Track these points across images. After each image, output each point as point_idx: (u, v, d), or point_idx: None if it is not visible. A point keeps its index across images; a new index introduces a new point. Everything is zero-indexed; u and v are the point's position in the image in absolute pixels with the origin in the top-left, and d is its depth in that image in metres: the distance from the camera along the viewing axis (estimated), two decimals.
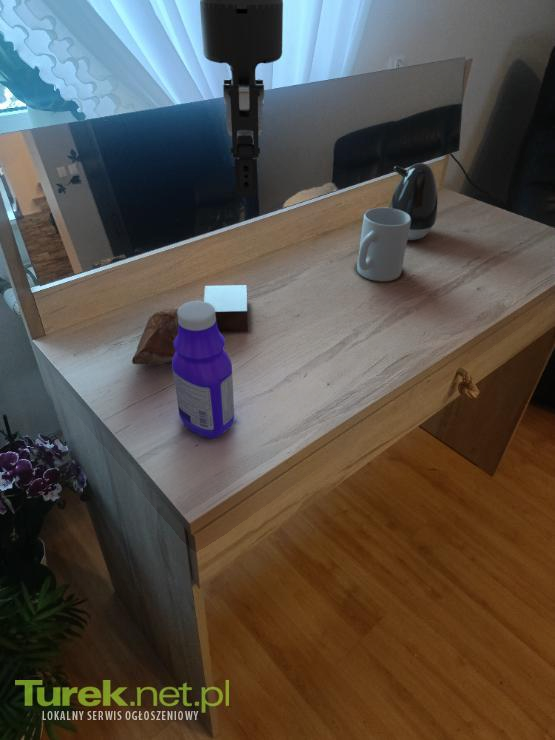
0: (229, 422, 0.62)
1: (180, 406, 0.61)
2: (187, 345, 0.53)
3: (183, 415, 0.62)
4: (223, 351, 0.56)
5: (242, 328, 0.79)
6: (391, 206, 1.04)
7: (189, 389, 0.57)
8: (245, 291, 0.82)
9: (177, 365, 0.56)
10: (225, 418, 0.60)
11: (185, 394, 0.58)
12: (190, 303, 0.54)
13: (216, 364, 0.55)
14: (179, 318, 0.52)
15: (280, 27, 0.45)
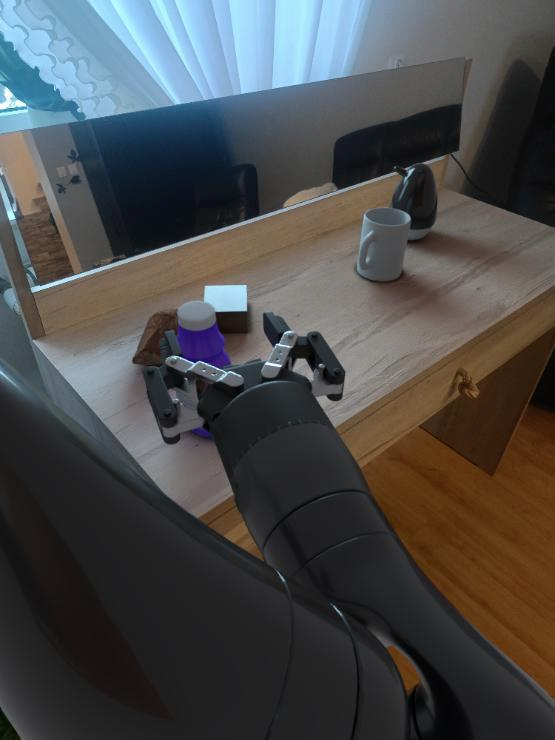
0: None
1: None
2: (187, 345, 0.53)
3: None
4: (223, 351, 0.56)
5: (242, 328, 0.79)
6: (391, 206, 1.04)
7: None
8: (245, 291, 0.82)
9: None
10: None
11: None
12: (190, 303, 0.54)
13: (216, 364, 0.55)
14: (179, 318, 0.52)
15: None
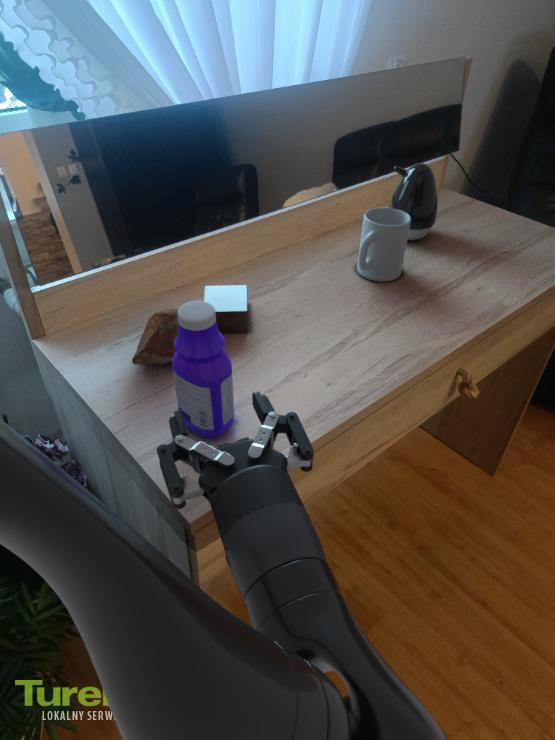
0: (229, 422, 0.62)
1: (180, 406, 0.61)
2: (187, 345, 0.53)
3: (183, 415, 0.62)
4: (223, 351, 0.56)
5: (242, 328, 0.79)
6: (391, 206, 1.04)
7: (189, 389, 0.57)
8: (245, 291, 0.82)
9: (177, 365, 0.56)
10: (225, 418, 0.60)
11: (185, 394, 0.58)
12: (190, 303, 0.54)
13: (216, 364, 0.55)
14: (179, 318, 0.52)
15: None
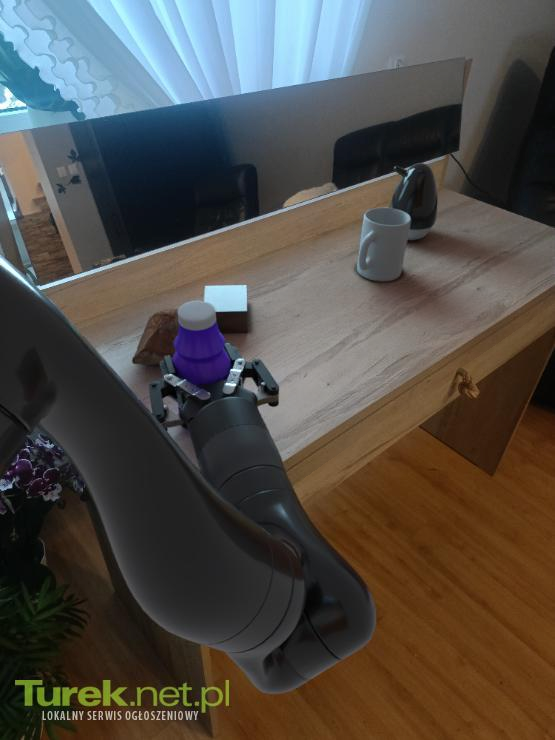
0: None
1: None
2: (187, 345, 0.53)
3: None
4: (223, 351, 0.56)
5: (242, 328, 0.79)
6: (391, 206, 1.04)
7: None
8: (245, 291, 0.82)
9: (177, 365, 0.56)
10: None
11: None
12: (190, 303, 0.54)
13: (216, 363, 0.55)
14: (179, 318, 0.52)
15: None
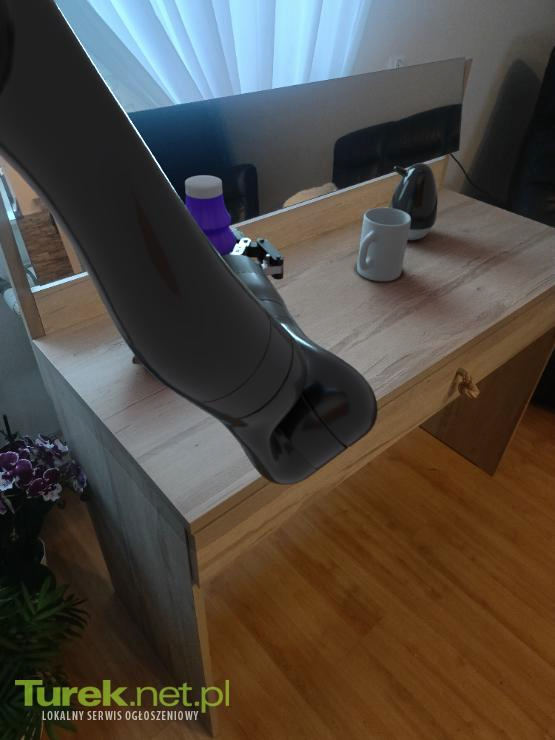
0: None
1: None
2: (194, 216, 0.55)
3: None
4: (229, 229, 0.58)
5: None
6: (391, 206, 1.04)
7: None
8: None
9: None
10: None
11: None
12: (197, 176, 0.55)
13: (222, 238, 0.56)
14: (187, 187, 0.54)
15: None
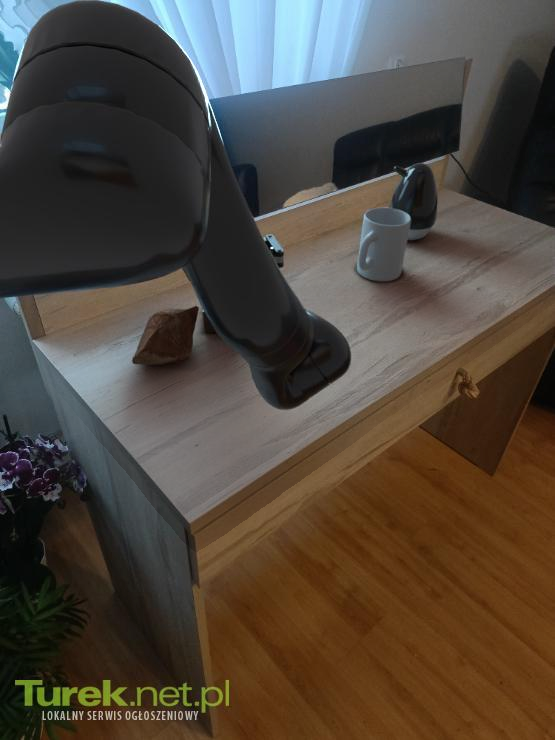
0: None
1: None
2: None
3: None
4: None
5: None
6: (391, 206, 1.04)
7: None
8: None
9: None
10: None
11: None
12: None
13: None
14: None
15: None
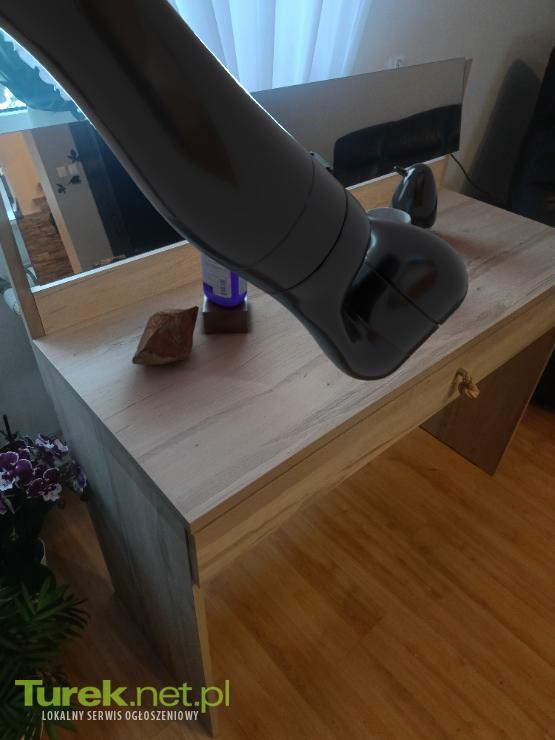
0: (243, 294, 0.77)
1: (204, 280, 0.77)
2: None
3: (206, 288, 0.77)
4: None
5: (242, 328, 0.79)
6: (391, 206, 1.04)
7: (213, 260, 0.73)
8: None
9: None
10: (240, 289, 0.76)
11: (209, 266, 0.74)
12: None
13: None
14: None
15: None
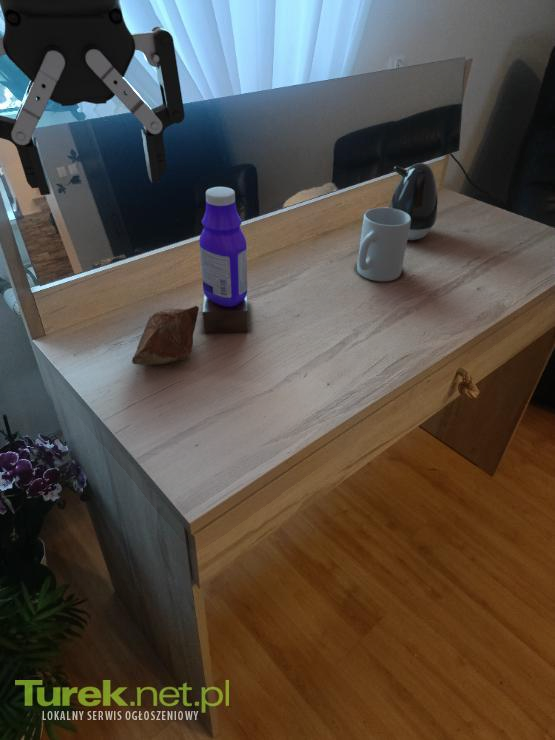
0: (243, 294, 0.77)
1: (204, 280, 0.77)
2: (212, 219, 0.69)
3: (206, 288, 0.77)
4: (240, 229, 0.72)
5: (242, 328, 0.79)
6: (391, 206, 1.04)
7: (213, 260, 0.73)
8: None
9: (204, 240, 0.72)
10: (240, 289, 0.76)
11: (209, 266, 0.74)
12: (215, 187, 0.70)
13: (234, 237, 0.71)
14: (207, 196, 0.68)
15: None
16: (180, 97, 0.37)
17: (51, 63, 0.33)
